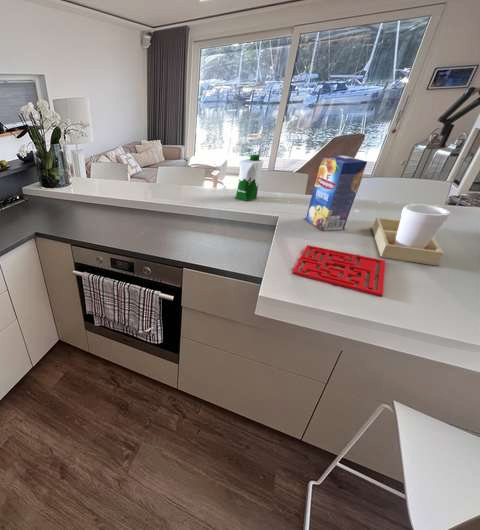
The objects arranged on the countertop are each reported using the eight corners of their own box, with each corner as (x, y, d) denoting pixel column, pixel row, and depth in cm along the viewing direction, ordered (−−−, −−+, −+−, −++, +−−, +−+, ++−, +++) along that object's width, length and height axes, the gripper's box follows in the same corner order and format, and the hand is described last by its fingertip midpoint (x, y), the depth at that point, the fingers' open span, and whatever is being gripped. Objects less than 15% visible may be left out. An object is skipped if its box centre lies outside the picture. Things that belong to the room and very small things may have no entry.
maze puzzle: (306, 246, 96) (307, 244, 95) (384, 262, 84) (385, 260, 84) (292, 273, 83) (292, 271, 82) (381, 296, 71) (382, 294, 71)
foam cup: (386, 240, 94) (402, 202, 87) (424, 246, 89) (445, 206, 83) (388, 253, 87) (406, 212, 81) (430, 259, 83) (453, 217, 76)
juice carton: (343, 229, 105) (367, 161, 93) (322, 230, 106) (343, 163, 94) (324, 217, 116) (343, 155, 103) (305, 218, 116) (322, 156, 104)
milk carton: (259, 198, 142) (266, 155, 132) (247, 202, 138) (254, 158, 128) (244, 194, 148) (250, 153, 138) (232, 198, 144) (237, 156, 134)
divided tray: (417, 233, 98) (423, 222, 96) (436, 265, 81) (443, 252, 79) (371, 228, 104) (376, 217, 102) (380, 257, 87) (385, 245, 85)
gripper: (453, 69, 81) (419, 148, 92) (598, 56, 69) (540, 149, 80) (446, 70, 87) (414, 144, 97) (579, 58, 75) (527, 145, 85)
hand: (471, 147), depth 89 cm, fingers open, 13 cm apart
